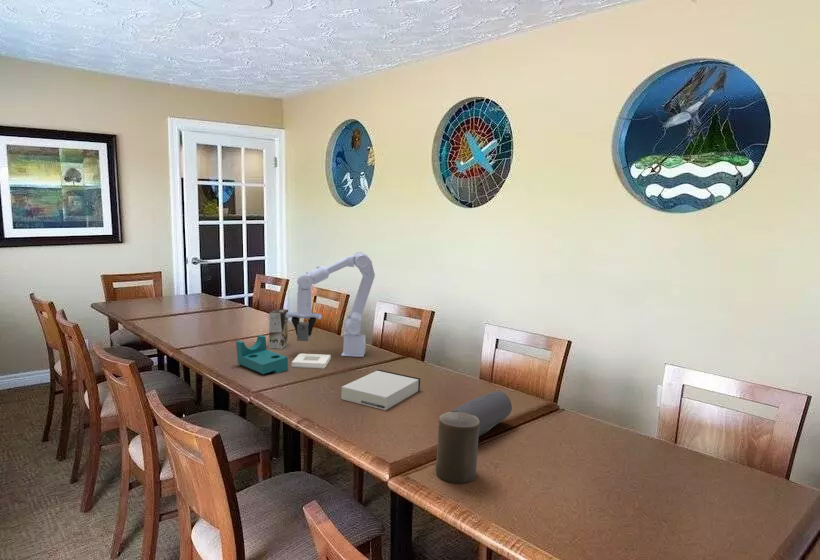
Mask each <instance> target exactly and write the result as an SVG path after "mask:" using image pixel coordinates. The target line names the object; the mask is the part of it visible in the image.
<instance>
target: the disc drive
mask: <svg viewBox="0 0 820 560" xmlns="http://www.w3.org/2000/svg"><path fill="white" fill-rule="evenodd" d="M420 390H421V378H419V377H414V376H410V375H406V374H400V373H395V372H391V371H388V370H383V369H376V370H375V371H374V372H373V371H372V372H371V373H369V374H366V375H365V376H363V377H360V378H357V379H355V380H354V381H351V382H349V383H347V384H345V385H342V386H341V396H340V397H341V398H340V399H341V400H343V401H348V402H352V403H355V404H359V405H363V406H366V407H367V406H368V407H371V408H375V409H379V410H384V411H387V410H389V409H391V408H392V407H393V406H396V405H397V404H399V403H401V402H402V401H404V400H406V399H407V398H409V397H411V396H413V395H414V394H417V393H418V392H420Z"/></svg>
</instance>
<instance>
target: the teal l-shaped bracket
mask: <svg viewBox="0 0 820 560" xmlns="http://www.w3.org/2000/svg"><path fill="white" fill-rule="evenodd" d="M266 339H267V338H266V336H265V335H262V334H259V335H257V337H256V341H255V343H254V344H253V345H251V346H250V347H247V346H246V345H245V342H244V341H242V340H236V341H235V347H236V354H237V355H236V357H237V364H238V365H241V366H243V367H245V368H247V369H250V370H252V371H255V372H258V373H260V374H262V375H265V374H268V373H271V372H272V373H275V374H279V373H282V372H286V371H289V362H288V361H289V360H288V359H289V358H288V356H285V355H283V354H280V353H277V352H275V351H271V350H270V349H267V340H266Z"/></svg>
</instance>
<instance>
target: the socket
mask: <svg viewBox="0 0 820 560" xmlns="http://www.w3.org/2000/svg"><path fill="white" fill-rule="evenodd" d="M331 357H332V355H331V354H321V353H320V354H318V353H298V355H296V357H295V358H294V359H293V360H292V361H291V367H292V368H300V369H301V368H304V369H323V370H325V369H326V367H327V366H328V364H329V363H330V362H331V359H332V358H331Z"/></svg>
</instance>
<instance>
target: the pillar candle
mask: <svg viewBox="0 0 820 560" xmlns="http://www.w3.org/2000/svg"><path fill="white" fill-rule="evenodd" d="M479 424H480V422H479V419H478V418H477V417H476V416H473V415H470V414H466V413H459V412H451V411H449V412H445V413H442V414H440V415H439V420H438V432H437V448H436V462H435V463H436V464H435V473H436V476H437V477H438V478H439V479H440V480H442V481H445V482H448V483H452V484H457V485H458V484H468V483H470V482H472V481H474V480H475V479H476V477H477V467H478V465H477V464H478V449H479V448H478V447H479V437H480V436H479Z"/></svg>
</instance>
